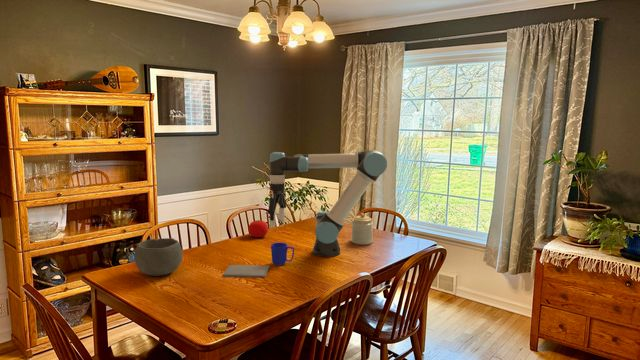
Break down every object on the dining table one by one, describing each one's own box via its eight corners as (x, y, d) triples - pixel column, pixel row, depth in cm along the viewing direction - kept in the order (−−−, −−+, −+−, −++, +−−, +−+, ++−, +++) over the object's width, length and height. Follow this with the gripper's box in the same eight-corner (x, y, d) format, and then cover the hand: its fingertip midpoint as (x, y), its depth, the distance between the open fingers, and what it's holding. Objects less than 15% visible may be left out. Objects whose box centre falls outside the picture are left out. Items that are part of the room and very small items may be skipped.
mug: (292, 267, 214) (292, 248, 212) (268, 265, 216) (268, 246, 215) (296, 262, 222) (296, 243, 220) (273, 260, 224) (273, 242, 222)
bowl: (137, 284, 190) (135, 252, 188) (133, 269, 209) (132, 239, 206) (186, 277, 200) (185, 245, 198) (178, 263, 218) (177, 234, 216)
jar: (376, 241, 261) (377, 212, 258) (366, 246, 250) (367, 216, 248) (357, 237, 268) (357, 210, 265) (347, 242, 257) (347, 213, 254)
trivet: (269, 267, 214) (269, 265, 214) (265, 277, 200) (265, 275, 200) (229, 266, 215) (229, 264, 214) (222, 276, 201) (222, 274, 201)
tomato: (266, 239, 262) (266, 222, 261) (246, 239, 262) (246, 222, 261) (269, 234, 273) (269, 218, 272) (250, 234, 274) (249, 217, 272)
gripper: (278, 179, 232) (278, 217, 235) (261, 186, 208) (261, 228, 211) (291, 179, 230) (291, 218, 233) (275, 186, 206) (275, 229, 209)
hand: (277, 223), depth 222 cm, fingers open, 13 cm apart
